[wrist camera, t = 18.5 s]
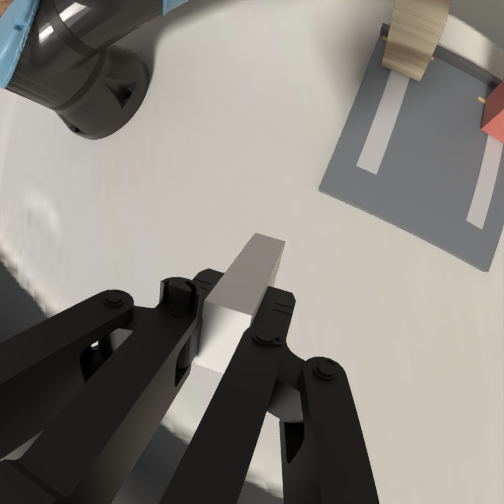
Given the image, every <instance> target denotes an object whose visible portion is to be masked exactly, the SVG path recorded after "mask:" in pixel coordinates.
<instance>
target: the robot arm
mask: <svg viewBox="0 0 504 504" xmlns="http://www.w3.org/2000/svg"><path fill="white" fill-rule="evenodd" d="M187 1H188V0H14V1H13V2H12V3H11V4H10V6H9V7H8V8H7V9H6V11H5V12H4V14H3V15H2V16H1V18H0V87H1V88H3V89H7V90H9V91H11V92H14V93H16V94H18V95H20V96H23V97H25V98H27V99H30V100H32V101H34V102H36V103H39V104H41V105H43V106H45V107H48V108H50V109H52V110H54V111H55V112H56V113H57V115H58V116H59V117H60V118H61V119H62V121H63V122H64V123H65V124H66V125H67V127H68V128H69V129H70V130H71V131H72V132H74V133H75V134H77V135H79V136H81V137H84V138H86V139H91V140H96V139H101V138H104V137H107V136H109V135H111V134H113V133H114V132H116V131H117V130H119V129H120V128H121V127H122V126H124V125H125V124H126V123H127V122H128V121H129V120H130V118H131V117H132V116H133V115H134V113H135V112H136V111H137V109H138V108H139V106H140V104H141V102H142V100H143V98H144V96H145V93H146V90H147V85H148V70H147V67H146V65H145V63H144V62H143V61H142V60H141V59H140V58H139V57H138V56H137V55H136V54H135V53H133V52H132V51H130V50H127V49H123V48H121V47H117V46H114V45H111V44H113V43H114V42H116V41H118V40H119V39H121V38H122V37H124V36H126V35H127V34H129V33H131V32H132V31H134V30H136V29H137V28H139V27H141V26H143V25H144V24H146V23H148V22H150V21H152V20H153V19H155V18H157V17H159V16H161V15H162V16H165V15H166V14H167V12H169V11H170V10H172V9H174V8H176V7H178V6H180V5H182V4H183V3H185V2H187ZM284 245H285V241H282V240H279V239H275V238H272V237H268V236H265V235H261V234H257V233H255V234H254V235H253V236H252V238H251V239H250V240H249V242H248V243H247V244H246V246H245V247H244V248H243V250H242V251H241V252H240V254H239V255H238V256H237V258H236V259H235V260H234V262H233V263H232V264H231V266H230V267H229V268H228V270H227V271H226V272H225V273H222V272H219V271H215V270H212V269H209V268H208V269H206V270H203V271H201V272H199V273H198V274H197V275H196V276H195V277H194V279H192V280H190V279H187V278H182V277H171V278H166V279H164V280H163V281H161V284H160V299H159V304H158V305H157V306H156V307H155V308H146V307H140V306H134V300H133V297H132V296H131V295H130V294H129V293H126V292H124V291H121V290H106V291H103V292H100V293H98V294H96V295H94V296H92V297H90V298H88V299H86V300H84V301H82V302H80V303H78V304H76V305H74V306H72V307H70V308H68V309H66V310H64V311H62V312H60V313H58V314H56V315H54V316H52V317H50V318H48V319H46V320H44V321H43V322H40V323H39V324H36V325H34V326H33V327H31V328H29V329H27V330H25V331H23V332H21V333H19V334H17V335H15V336H13V337H11V338H10V339H7V340H5V341H4V342H2V343H0V459H2V458H3V457H5V456H6V455H8V454H9V453H11V452H12V451H14V450H15V449H17V448H18V447H19V446H21V445H22V444H24V443H25V442H27V441H28V440H30V439H31V438H33V437H34V436H36V435H37V434H38V433H40V432H41V431H43V430H44V429H45V430H44V431H43V432H42V433H41V435H40V436H39V437H38V438H37V439H36V440H35V442H34V443H33V444H32V445H31V446H30V447H29V449H28V450H27V451H26V452H25V453H24V455H23V456H21V457H20V458H19V459H17V460H6V459H5V460H3V461H0V504H111V503H112V501H113V500H114V498H115V496H116V495H117V493H118V491H119V490H120V488H121V486H122V485H123V483H124V482H125V480H126V478H127V477H128V475H129V473H130V472H131V470H132V468H133V467H134V465H135V463H136V462H137V460H138V458H139V457H140V455H141V453H142V452H143V450H144V449H145V447H146V445H147V443H148V442H149V440H150V438H151V437H152V435H153V434H154V432H155V430H156V429H157V427H158V425H159V424H160V422H161V420H162V419H163V417H164V415H165V414H166V412H167V410H168V409H169V407H170V405H171V404H172V402H173V400H174V399H175V397H176V395H177V394H178V392H179V390H180V389H181V387H182V385H183V384H184V382H185V380H186V379H187V377H188V375H189V374H190V370H191V363H192V361H193V359H194V357H195V356H196V363H195V364H198V365H200V366H203V367H206V368H209V369H211V370H214V371H217V372H220V373H223V377H222V379H221V381H220V383H219V385H218V387H217V389H216V391H215V393H214V395H213V397H212V399H211V401H210V403H209V405H208V407H207V409H206V411H205V413H204V415H203V417H202V420H201V422H200V424H199V426H198V428H197V430H196V432H195V434H194V436H193V438H192V440H191V442H190V444H189V446H188V448H187V449H186V451H185V453H184V456H183V457H182V459H181V461H180V463H179V465H178V467H177V469H176V471H175V473H174V475H173V477H172V479H171V481H170V483H169V485H168V487H167V489H166V491H165V492H164V494H163V496H162V498H161V500H160V502H159V504H236V503H237V501H238V498H239V495H240V492H241V489H242V486H243V483H244V480H245V477H246V474H247V471H248V468H249V465H250V462H251V459H252V456H253V453H254V450H255V447H256V444H257V441H258V437H259V434H260V431H261V428H262V425H263V421H264V418H265V415H266V411H268V412H269V413H271V414H273V415H274V416H276V417H278V418H279V419H280V421H279V426H280V443H281V460H282V479H283V499H284V504H379V499H378V495H377V490H376V486H375V482H374V478H373V473H372V469H371V465H370V461H369V457H368V453H367V449H366V445H365V441H364V437H363V433H362V430H361V426H360V422H359V418H358V415H357V411H356V407H355V404H354V400H353V397H352V393H351V389H350V386H349V382H348V379H347V375H346V373H345V371H344V369H343V367H342V366H340V365H339V364H338V363H337V362H335V361H333V360H332V359H329V358H325V357H312V358H310V359H308V360H307V361H305V360H303V359H301V358H299V357H298V356H296V355H295V354H293V353H292V352H291V351H290V349H289V348H288V346H287V343H286V337H287V333H288V330H289V326H290V322H291V318H292V314H293V310H294V306H295V302H296V300H295V298H294V295H293V293H291V292H288V291H284V290H281V289H278V288H274V287H273V286H274V282H275V279H276V275H277V271H278V268H279V264H280V260H281V256H282V253H283V249H284ZM97 341H98V345H96V346H94V347H91V345H92V344H93V343H95V342H97ZM196 354H197V355H196Z"/></svg>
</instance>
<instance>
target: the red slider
mask: <svg viewBox="0 0 504 504" xmlns="http://www.w3.org/2000/svg"><path fill="white" fill-rule="evenodd" d="M481 130H483V131H484V132H486V133H488V134H489V135H491V136H492V137H494V138H496V139H497V140H499V141H500V142H502V143H503V144H504V80H503V81H502V82H501V83H500V84H499V85H498V86H497V87H496V88H495V89H494V91H493V92H492V93H491V94H490V95H489V96H488V97H487V98H486V104H485V110H484V116H483V121H482V126H481Z"/></svg>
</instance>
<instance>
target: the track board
mask: <svg viewBox="0 0 504 504" xmlns="http://www.w3.org/2000/svg"><path fill="white" fill-rule="evenodd" d="M389 29H390V25H387V24H384V23H383V24H382V27H381V32H380V36H379V39H378V41H377V44H376V47H375V50H374V52H373V55H372V57H371V60H370V63H369V65H368V68H367V71H366V73H365V76H364V78H363V81H362V83H361V86H360V89H359V91H358V94H357V96H356V99H355V101H354V104H353V106H352V109H351V111H350V114H349V116H348V119H347V121H346V124H345V126H344V129H343V131H342V134H341V136H340V139H339V141H338V143H337V146H336V148H335V151H334V153H333V156H332V158H331V160H330V163H329V165H328V168H327V170H326V172H325V175H324V177H323V179H322V182H321V184H320V186H319V191H320V192H322V193H325V194H327V195H329V196H332V197H334V198H336V199H338V200H341V201H343V202H345V203H347V204H350V205H352V206H354V207H356V208H359V209H361V210H363V211H365V212H367V213H370V214H372V215H374V216H376V217H378V218H380V219H382V220H384V221H387V222H389V223H391V224H393V225H395V226H397V227H399V228H401V229H403V230H405V231H407V232H409V233H411V234H413V235H415V236H417V237H419V238H421V239H423V240H425V241H427V242H429V243H431V244H433V245H435V246H437V247H439V248H441V249H442V250H444V251H446V252H448V253H450V254H452V255H454V256H456V257H457V258H459V259H461V260H463V261H465V262H467V263H468V264H470V265H472V266H474V267H476V268H477V269H479V270H481V271H483V272H488V271H489V269H490V266H491V263H492V260H493V257H494V254H495V251H496V248H497V245H498V242H499V239H500V235H501V232H502V228H503V225H504V144H503V143H502V142H500V141H499V140H497V139H496V138H494V137H492V136H491V135H489V134H488V133H486V132H484V131H483V130H481V126H482V121H483V116H484V110H485V104H486V98H487V97H488V96H489V95H490V94H491V93H492V92H493V91H494V89H495V88H496V87H497V86H498V85H499V84H500V83H501V82H502V81H501V80H500V79H498V78H497V77H495V76H493V75H492V74H490V73H488V72H487V71H485V70H483V69H482V68H480V67H478V66H476V65H475V64H473V63H471V62H469V61H467V60H465V59H464V58H462V57H460V56H458V55H456V54H454V53H452V52H450V51H448V50H446V49H444V48H442V47H440V46H438V45H437V46H436V48H435V50H434V52H433V55H432V57H431V59H430V61H429V63H428V65H427V68H426V70H425V72H424V74H423V76H422V78H421V80H420V82H419V81H417V80H415V79H413V78H410V77H408V76H406V75H403V74H401V73H399V72H396V71H394V70H391V69H389V68H386V67H384V66H381V65H382V61H383V56H384V52H385V47H386V43H387V38H388V34H389Z"/></svg>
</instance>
